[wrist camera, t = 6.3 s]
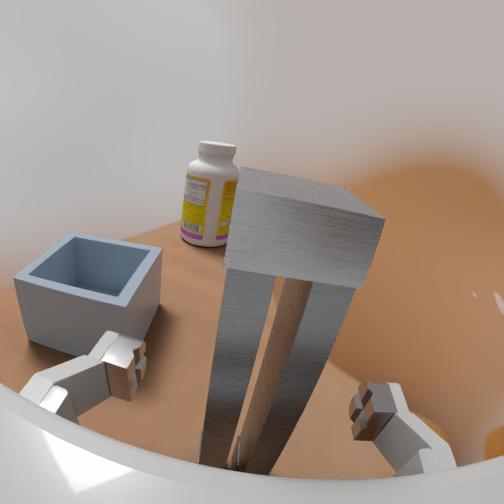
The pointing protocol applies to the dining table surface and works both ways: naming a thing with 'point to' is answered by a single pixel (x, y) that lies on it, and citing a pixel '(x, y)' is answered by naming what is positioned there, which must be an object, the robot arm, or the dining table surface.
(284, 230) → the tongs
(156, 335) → the dining table surface
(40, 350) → the dining table surface
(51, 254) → the blue-gray square tray
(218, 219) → the supplement bottle
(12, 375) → the dining table surface
